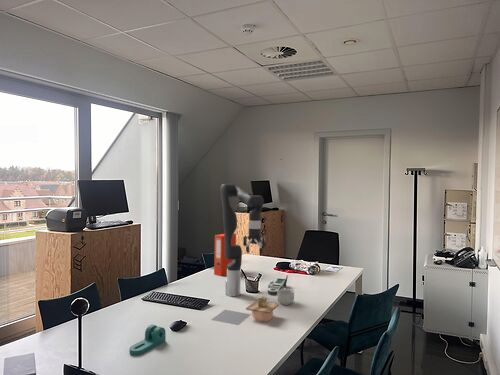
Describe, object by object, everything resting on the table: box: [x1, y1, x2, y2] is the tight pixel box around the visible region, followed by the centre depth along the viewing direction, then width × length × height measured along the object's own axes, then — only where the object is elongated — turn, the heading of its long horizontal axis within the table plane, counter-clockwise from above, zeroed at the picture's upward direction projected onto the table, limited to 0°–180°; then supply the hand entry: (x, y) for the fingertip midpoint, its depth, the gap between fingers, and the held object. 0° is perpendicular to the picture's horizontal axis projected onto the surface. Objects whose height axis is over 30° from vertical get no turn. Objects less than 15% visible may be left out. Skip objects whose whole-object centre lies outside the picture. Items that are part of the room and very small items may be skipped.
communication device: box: [267, 274, 289, 296], centre depth 259 cm, size 12×24×9 cm, turn 160°
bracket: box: [129, 324, 167, 356], centre depth 172 cm, size 18×7×8 cm, turn 150°
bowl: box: [251, 310, 274, 322], centre depth 208 cm, size 11×11×6 cm
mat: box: [210, 309, 252, 326], centre depth 208 cm, size 17×17×1 cm
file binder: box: [213, 233, 237, 277], centre depth 302 cm, size 8×17×32 cm, turn 142°
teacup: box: [276, 287, 295, 306], centre depth 234 cm, size 14×11×8 cm
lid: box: [245, 295, 279, 314], centre depth 208 cm, size 14×14×6 cm
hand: (254, 253), depth 229 cm, fingers open, 8 cm apart
